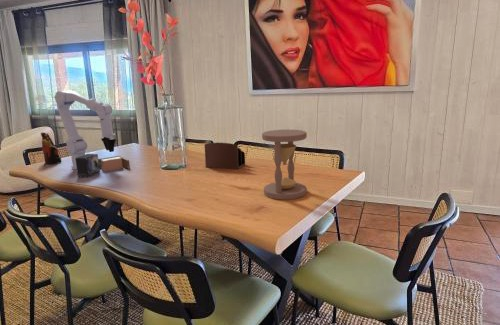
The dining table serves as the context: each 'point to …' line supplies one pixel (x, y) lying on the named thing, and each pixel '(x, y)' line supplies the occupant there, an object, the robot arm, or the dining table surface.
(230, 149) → the letter holder
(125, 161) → the shelf
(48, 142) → the statue
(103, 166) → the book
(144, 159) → the dining table surface
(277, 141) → the hourglass
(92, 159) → the small box
